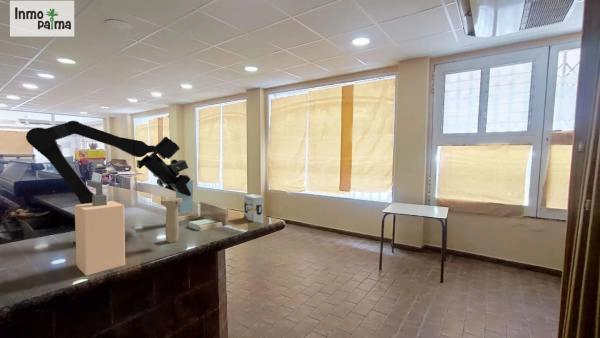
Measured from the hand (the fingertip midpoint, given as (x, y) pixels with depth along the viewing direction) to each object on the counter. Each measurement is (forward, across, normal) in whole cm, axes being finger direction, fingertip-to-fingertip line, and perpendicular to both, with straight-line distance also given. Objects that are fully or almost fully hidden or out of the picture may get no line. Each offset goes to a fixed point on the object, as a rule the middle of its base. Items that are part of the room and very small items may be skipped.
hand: (187, 194), depth 111 cm
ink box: (+26, -13, -7) cm, 29 cm away
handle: (0, -19, +19) cm, 27 cm away
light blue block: (+4, 0, +6) cm, 7 cm away
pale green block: (+9, -10, +7) cm, 15 cm away
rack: (+12, -4, +6) cm, 14 cm away
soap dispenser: (-14, -20, +33) cm, 41 cm away
